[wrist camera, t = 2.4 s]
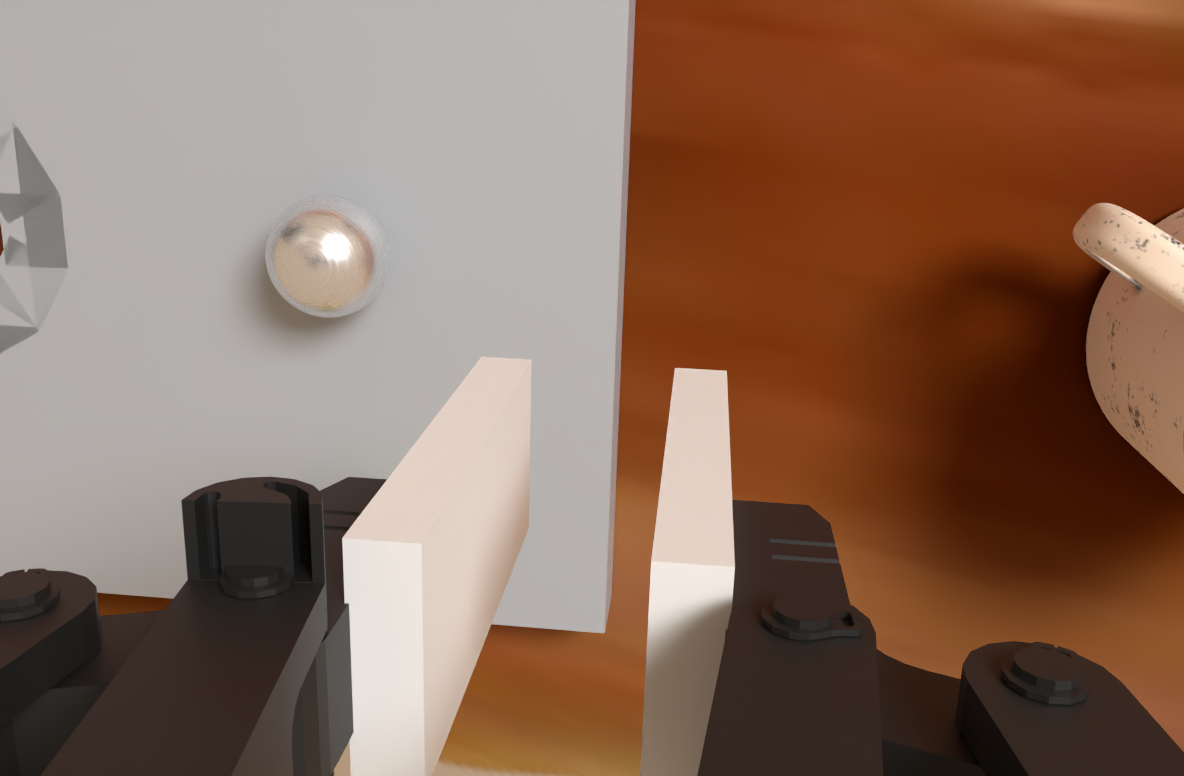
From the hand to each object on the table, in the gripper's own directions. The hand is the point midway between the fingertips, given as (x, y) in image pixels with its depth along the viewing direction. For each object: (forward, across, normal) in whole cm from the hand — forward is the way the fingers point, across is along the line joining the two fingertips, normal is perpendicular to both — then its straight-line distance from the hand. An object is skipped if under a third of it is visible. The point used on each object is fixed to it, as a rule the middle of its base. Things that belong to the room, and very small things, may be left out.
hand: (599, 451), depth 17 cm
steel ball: (+14, -9, 0) cm, 17 cm away
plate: (+18, -15, 0) cm, 24 cm away
